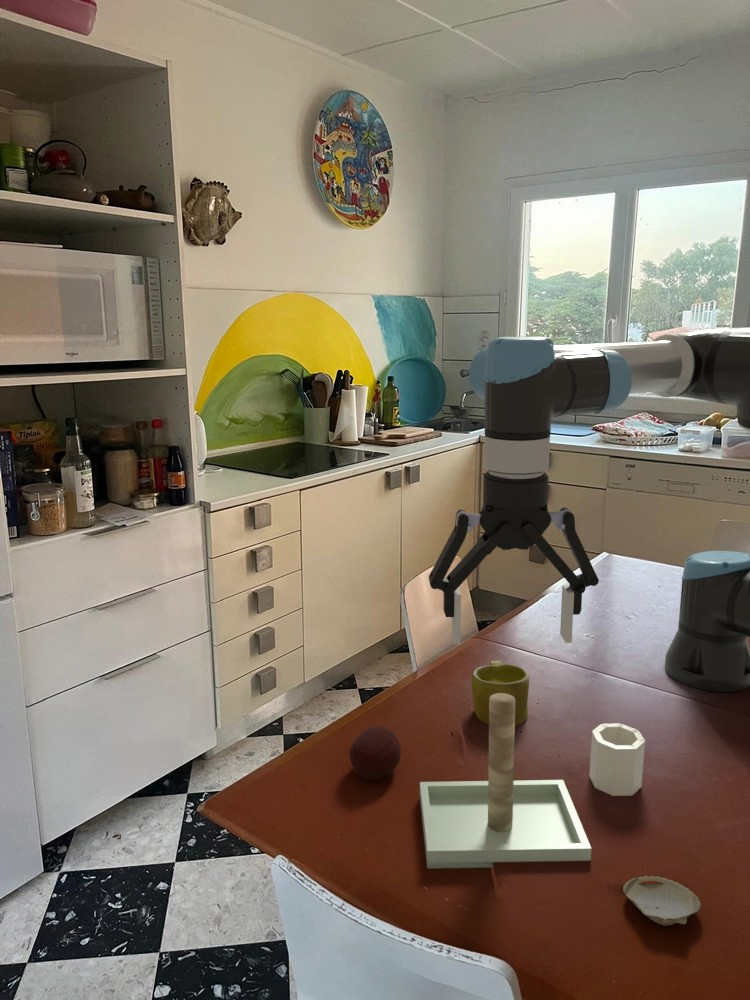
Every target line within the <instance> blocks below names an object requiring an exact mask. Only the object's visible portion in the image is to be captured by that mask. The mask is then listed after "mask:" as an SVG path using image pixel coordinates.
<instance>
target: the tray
mask: <svg viewBox="0 0 750 1000" xmlns="http://www.w3.org/2000/svg"><path fill="white" fill-rule="evenodd" d="M419 802H420V803H419V804H420V812H421V822H422V823H421V824H422V830H423V831H422V832H423V841H424V851H425V860H426V868H427V869H428V870H429V869H477V868H479V869H480V868H481V869H483V868H484V869H485V868H486V869H487V868H488V869H489V868H491V869H492V868H495V867H494V863H523V862H524V863H528V862H529V863H531V862H533V863H535V862H536V863H537V862H538V863H540V862H591V860H592V859H591V858H592V850H593V849H592V847H591V844H590V841H589V839H588V837H587V834H586V831H585V829H584V827H583V824H582V822H581V820H580V818H579V814H578V813H577V812H578V811H577V810H576V808H575V805H574V803H573V800H572V798H571V795H570V793H569V791H568V788H567V786H566V784H565V781H564V779H540V780H539V779H538V780H537V779H536V780H535V779H532V780H531V779H527V780H524V779H523V780H513V822H512V828H511V829H510V830H509V831H507V832H497V831H494V830H492V829H491V828H490V827H489V826H488V780H470V781H469V780H467V781H465V780H464V781H462V780H461V781H459V780H457V781H420V782H419Z"/></svg>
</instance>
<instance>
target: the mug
mask: <svg viewBox="0 0 750 1000" xmlns="http://www.w3.org/2000/svg"><path fill="white" fill-rule="evenodd" d="M529 686H530V676H529V674H528V672H527V671H526V670H525V669H524V668H522V667H521V666H518V665H513V664H503V663H502V661H501V660H492V661H491V660H490V663H489V664H488V665H484V666H479V667H477V668H475V670H474V671H473V672H472V676H471V690H472V699H473V709H474V714H475V717H476V718H477V719H478V721H481V722H482V723H484V724H486V725H488V726H489V699H490V696H491V695H493V694H497V693H505V694H509V695H511V696H513V697H514V698H515V727H517V726H520V725H522V724H524V723H525V722H526V720H527V718H528V713H529V711H528V709H529V708H528V699H529Z"/></svg>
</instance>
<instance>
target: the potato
mask: <svg viewBox="0 0 750 1000" xmlns="http://www.w3.org/2000/svg"><path fill="white" fill-rule="evenodd" d="M401 750H402V747H401V745H400V742H399V739H398V737H397V735H396V734H395V733H394V732H393V731H392V730H391V729H389V728H388V727H385V726H383V725H373V726H369V727H368V728H365V730H363V731H362V732H361V733H360V734H359V735H358V736H357V737H355V738H354V740H353V741H352V743H351V746H350V750H349V760H350V763H351V766H352V769H353V770H354V772H355V773H356V774H357V775H358V776H359V777H360V778H362V779H365V780H367V781H368V780H369V781H370V780H373V781H374V780H378V779H382V778H384V777H387V776H388V775H390V774H391V773H392V772H393V771H394V770H395V769H396V767H397V765H399V763H400V759H401V753H402V752H401Z"/></svg>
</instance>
